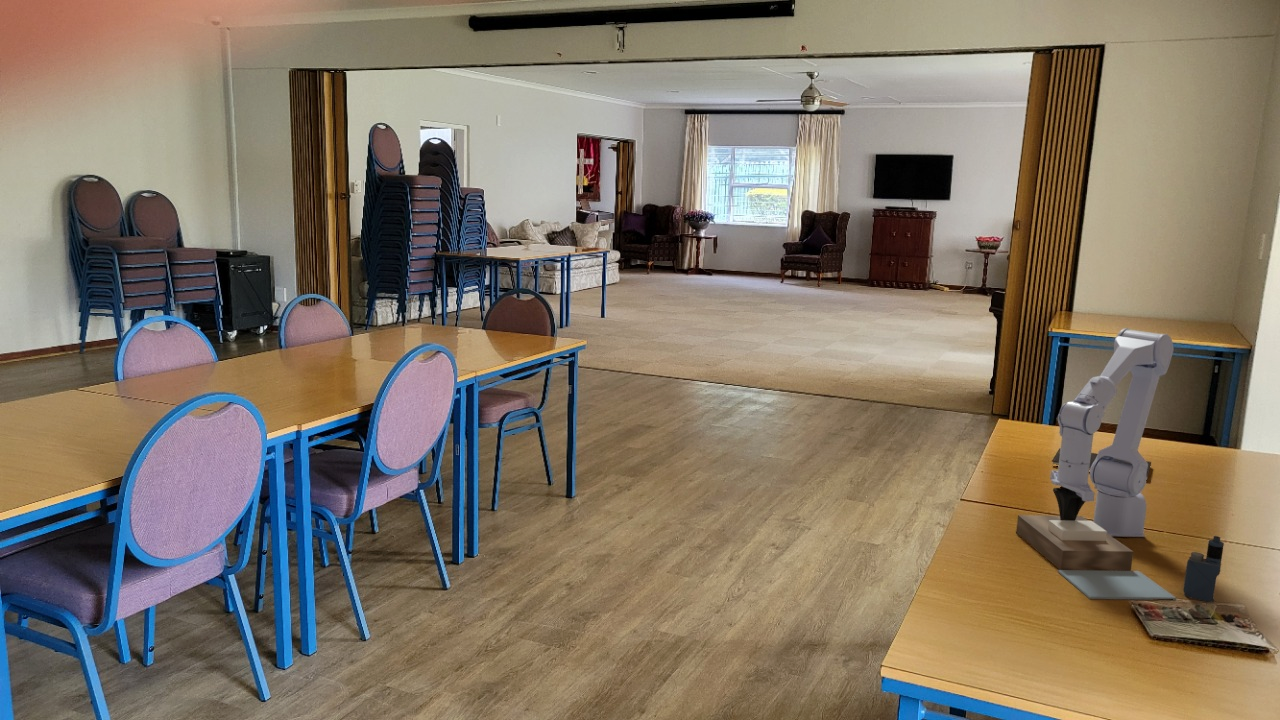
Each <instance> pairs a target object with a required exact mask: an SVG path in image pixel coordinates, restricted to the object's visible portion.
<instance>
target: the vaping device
mask: <svg viewBox="0 0 1280 720" xmlns="http://www.w3.org/2000/svg"><path fill="white" fill-rule="evenodd" d="M1224 545H1225V544H1224V541H1221V537H1220V536H1218V535H1214V536H1213V538H1212V539H1209V540H1208V543H1207V549H1206V555H1204V554H1203V553H1202V552H1201V553H1200V552H1197V551H1192V552H1190V556H1189V557H1188V559H1187V563H1186V568H1185V576H1184V580H1183V589H1182V591H1183V593H1184V596H1185V597H1187V598H1190V599H1194V600H1198V601H1204V602H1209V603H1213V602H1215V600H1214V595H1215V589H1216V583H1217V578H1218V576H1219V575H1220V574H1221V568H1222V559H1223V558H1222V557H1223V552H1224ZM1204 557H1205V558H1204Z"/></svg>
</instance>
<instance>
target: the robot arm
mask: <svg viewBox="0 0 1280 720" xmlns="http://www.w3.org/2000/svg"><path fill="white" fill-rule="evenodd" d="M1174 348H1175V347H1174V343H1173V340H1172V338H1171V336H1170V335H1169V334H1168V333H1156V332H1149V331H1141V330H1134V329H1130V328H1127V327H1126V328H1125V327H1124V328H1122V329H1121V330H1120V331H1119V332H1118V333H1117V334H1116V337H1115V339H1114V343H1113V354H1112V356H1111V358H1110V359H1109V360H1108V362H1107V364H1106V365H1105V367H1104V369H1103V371H1102V372H1101V374H1100V375H1099V376H1093V377H1091V378H1089V380H1088V382H1087V383H1086V384H1085V385H1084V387H1083V388H1082V389H1081V390H1080V392H1079V393H1078V394H1077V395H1076V397H1075V398H1074V400H1070V401H1068V402H1065V403H1064V404H1062V406H1061V407H1060V409H1059V412H1058V415H1057V422H1058V426H1059V432H1058V434H1059V436H1060V437H1061V441H1060V442H1061V443H1060V448H1061V449H1060V458H1059V467H1057V469H1058V470H1051V471H1050V477H1049V479H1050V480H1051V484H1053V485H1054V486H1059V487H1054V488H1053V489H1052V491H1053V492H1052V493H1054V496H1055V499H1056V502H1057V505H1058V513H1059V516H1060V520H1074V521H1075V520H1076V517H1077V516H1079V515H1078V514H1079V512H1080V510H1081V508H1082V507H1083V505H1085V503H1086V502H1092V503H1093V502H1094V501H1095V506H1094V514H1093V520H1092V521H1093V522H1094V523H1096V524H1097V525H1098V526H1100V527H1101V528H1103V529H1104V530H1106V531H1107V534H1109V535H1110V536H1112V537H1113V538H1114V537H1119V538H1120V537H1125V538H1126V537H1127V538H1128V537H1130V538H1145V537H1146V534H1145V533H1144V530H1145V523H1146V522H1145V521H1146V515H1147V501H1146V498H1145V496H1144V495H1143V494H1142V492H1143V490H1144V489H1145V486H1146V485H1147V481H1146V478H1147V477H1146V473H1147V468H1148V463H1147V462H1146V461H1147V460H1146V459H1145V457H1144V456H1142V454H1141V453H1140V452H1139V447H1140V443H1141V441H1142V437H1143V434H1144V431H1145V427H1146V424H1147V420H1148V418H1149V414H1150V411H1151V408H1152V403H1153V400H1154V397H1155V393H1156V391H1157V390H1156V389H1157V386H1158V383H1159V380H1160V377H1161V376H1162V377H1163V376H1164V375H1166V374H1167V372H1168V369H1169V367H1170V364H1171V361H1172V356H1173V355H1174V350H1175V349H1174ZM1128 373H1131V376H1132V377H1131V380H1130V383H1129V386H1128V390H1127V394H1126V396H1125V401H1124V404H1123V406H1122V410H1121V413H1120V417H1119V420H1118V422H1117V427H1116V431H1115V432H1114V433H1115V434H1114V437H1113V442H1112V444H1110V445H1109V446H1106V447H1104V448H1101V449H1099V451H1098V453H1097V454H1098V455H1097V457H1096V459H1095V461H1094V462H1093V464H1092V466H1091V469H1090V473H1089V467H1090V458H1091V453H1092V450H1093V441H1094V434H1095V433H1096V432H1097V431H1098V430H1099V429H1100V427H1101V424H1102V420H1103V418H1104V416H1105V410H1106V408H1107V407H1108V406H1109V405H1110V403H1111V402H1112V401H1113V399H1114V398H1115V397H1116V396H1117V393H1118V391H1117V387H1116V386H1117V385H1118V384H1119V383H1120V382H1121V381H1122V380H1123V379H1124V378H1125V377H1126V375H1127V374H1128ZM1113 459H1118V460H1122V461H1126V462H1129V463H1132V465H1129V464H1125V463H1121V462H1117V461H1114V460H1113ZM1089 478H1090V482H1091V483H1092V484H1093V485H1094V489H1096V494H1095V491H1093V489H1092V488H1091V486H1090V483H1089V482H1088V481H1089ZM1147 479H1148V478H1147ZM1095 495H1096V500H1095Z"/></svg>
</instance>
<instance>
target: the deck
mask: <svg viewBox="0 0 1280 720" xmlns="http://www.w3.org/2000/svg"><path fill="white" fill-rule="evenodd" d="M1049 520H1060V515H1047V514H1045V515H1041V514H1040V515H1039V514H1037V515H1034V514H1033V515H1032V514H1027V515H1026V514H1018V515H1017V520H1016V531H1015V533H1016V534H1017V535H1018V536H1019V537H1020V538H1022V539H1023V540H1024V541H1025V542H1027V543H1028V544H1029V545H1030V546H1031V547H1033V548H1034V550H1036V551H1037V552H1039V554H1040V555H1042V556H1043V557H1044V558H1045V559H1047V560H1048V561H1049V562H1050V563H1051V564H1053V566H1055V567H1056V568H1058V570H1091V571H1132V566H1133V565H1132V564H1133V557H1134V551H1133V550H1132V549H1130V548H1129V547H1128V546H1127V545H1125V544H1123V543H1121V542H1120V541H1119V540H1117V539H1116V538H1114V536H1110V535H1109V534H1107V535H1106V541H1085V540H1061V539H1059V538H1058V537H1057V536H1056V535H1054V534H1053V533H1052V532H1051V531H1049V530H1048V523H1049ZM1075 521H1089V520H1088V519H1087V518H1085V517H1084V516H1082V515H1077V517H1076V520H1075Z"/></svg>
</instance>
